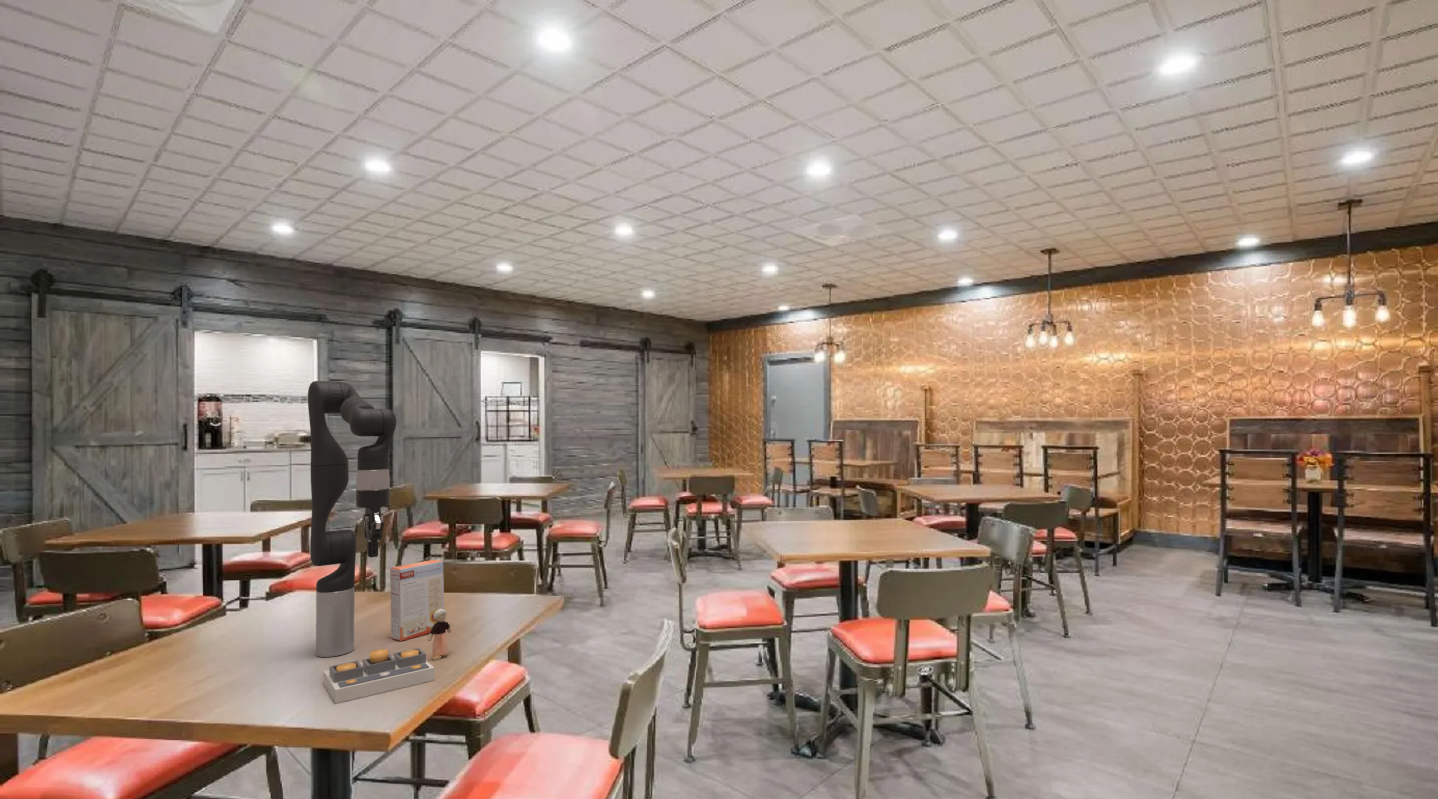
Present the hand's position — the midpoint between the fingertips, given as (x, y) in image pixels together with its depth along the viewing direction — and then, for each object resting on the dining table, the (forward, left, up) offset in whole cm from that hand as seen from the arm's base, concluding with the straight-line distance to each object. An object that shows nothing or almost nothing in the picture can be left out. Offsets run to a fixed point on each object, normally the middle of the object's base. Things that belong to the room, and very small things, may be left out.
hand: (372, 556), depth 169 cm
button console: (+7, 0, -29) cm, 30 cm away
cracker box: (-28, +18, -29) cm, 44 cm away
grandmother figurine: (-2, +17, -29) cm, 34 cm away
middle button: (+7, 0, -24) cm, 25 cm away
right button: (+7, +7, -26) cm, 27 cm away
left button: (+7, -7, -26) cm, 27 cm away
